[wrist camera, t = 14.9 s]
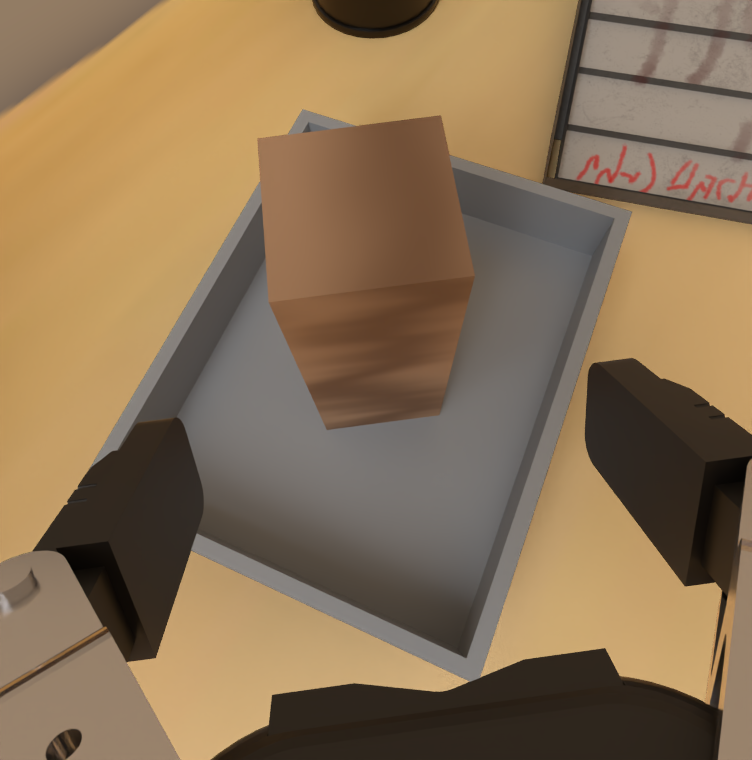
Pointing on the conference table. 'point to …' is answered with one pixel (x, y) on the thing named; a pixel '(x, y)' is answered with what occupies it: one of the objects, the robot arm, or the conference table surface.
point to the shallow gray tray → (390, 425)
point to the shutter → (659, 106)
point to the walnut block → (367, 265)
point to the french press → (374, 15)
